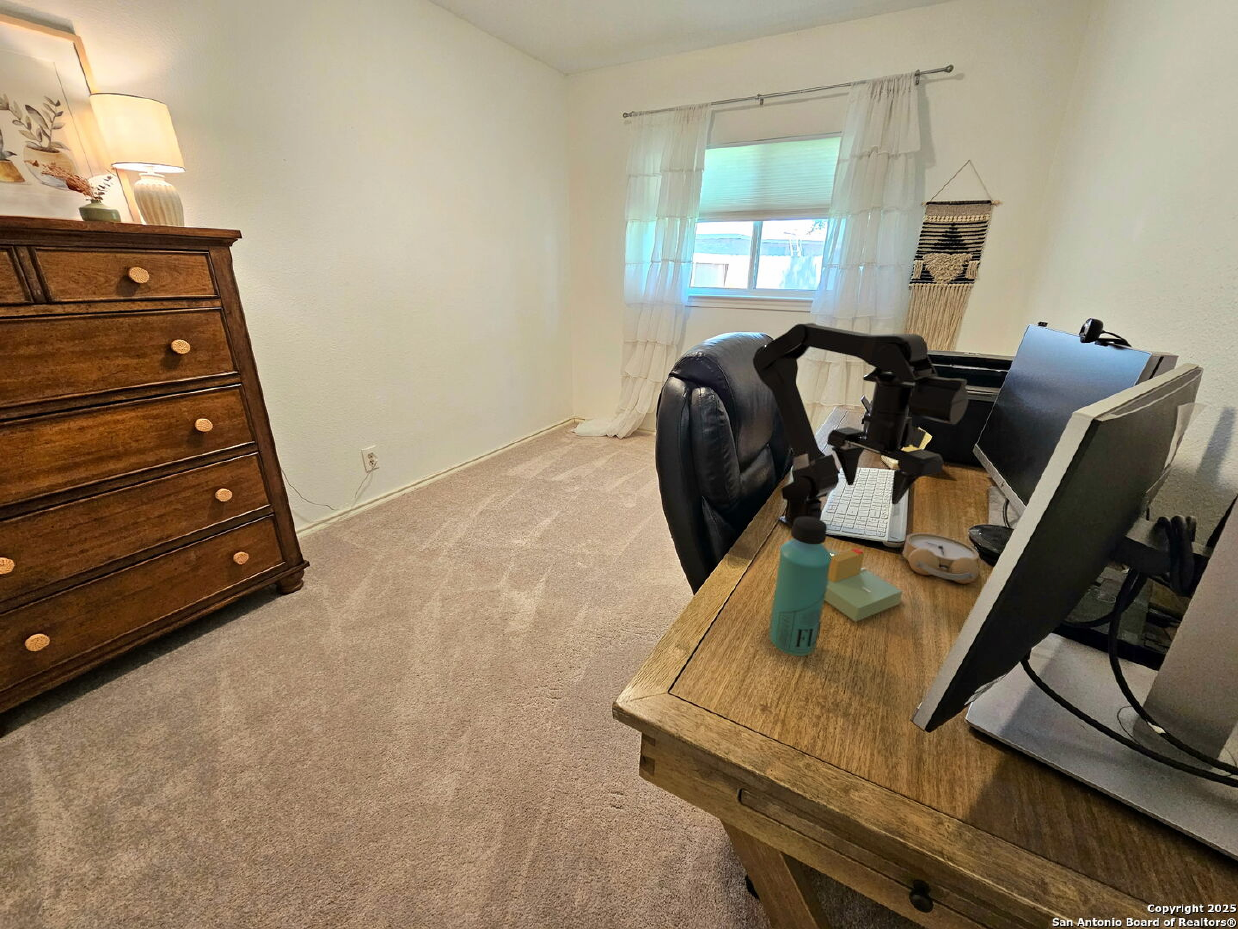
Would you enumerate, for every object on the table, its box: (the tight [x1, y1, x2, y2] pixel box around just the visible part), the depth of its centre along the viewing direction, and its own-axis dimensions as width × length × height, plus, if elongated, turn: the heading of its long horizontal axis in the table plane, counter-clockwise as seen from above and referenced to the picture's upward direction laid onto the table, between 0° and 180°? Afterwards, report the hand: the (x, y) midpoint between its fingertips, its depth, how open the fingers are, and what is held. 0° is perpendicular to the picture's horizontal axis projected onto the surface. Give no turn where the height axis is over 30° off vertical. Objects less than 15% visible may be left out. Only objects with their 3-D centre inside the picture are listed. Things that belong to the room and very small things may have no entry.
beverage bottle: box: [768, 516, 831, 657], centre depth 64 cm, size 6×7×20 cm
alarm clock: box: [902, 532, 980, 585], centre depth 86 cm, size 11×5×15 cm
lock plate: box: [824, 549, 903, 623], centre depth 80 cm, size 14×10×3 cm
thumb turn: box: [828, 547, 865, 582], centre depth 79 cm, size 6×2×4 cm, turn 115°
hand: (871, 494), depth 88 cm, fingers open, 9 cm apart
